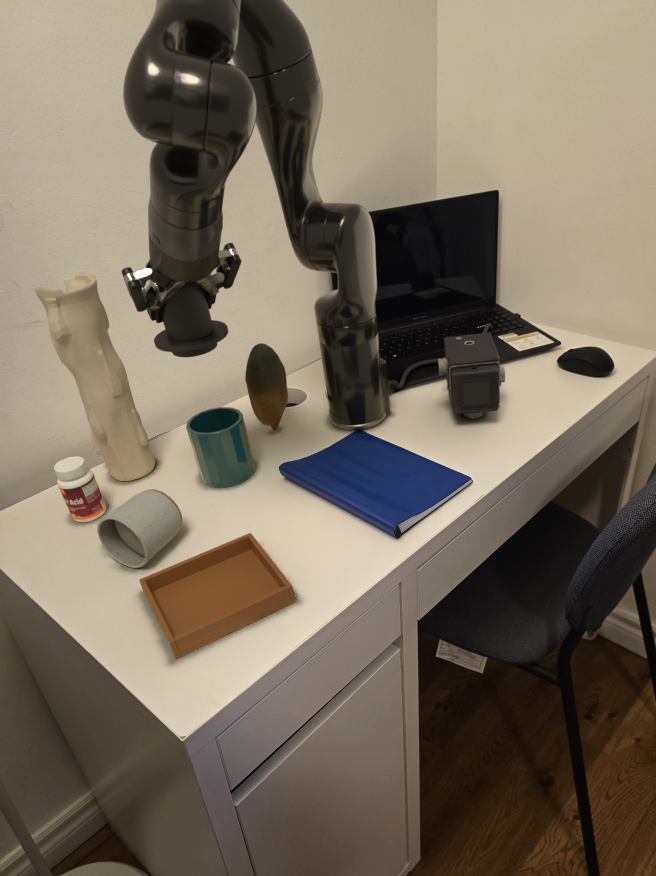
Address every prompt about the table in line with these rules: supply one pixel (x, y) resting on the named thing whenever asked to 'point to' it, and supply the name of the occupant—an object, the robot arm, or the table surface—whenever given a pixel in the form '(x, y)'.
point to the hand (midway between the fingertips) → (181, 309)
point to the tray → (216, 593)
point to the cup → (221, 447)
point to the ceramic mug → (140, 527)
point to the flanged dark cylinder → (189, 325)
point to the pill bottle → (79, 489)
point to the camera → (472, 374)
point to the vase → (97, 375)
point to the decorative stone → (266, 385)
